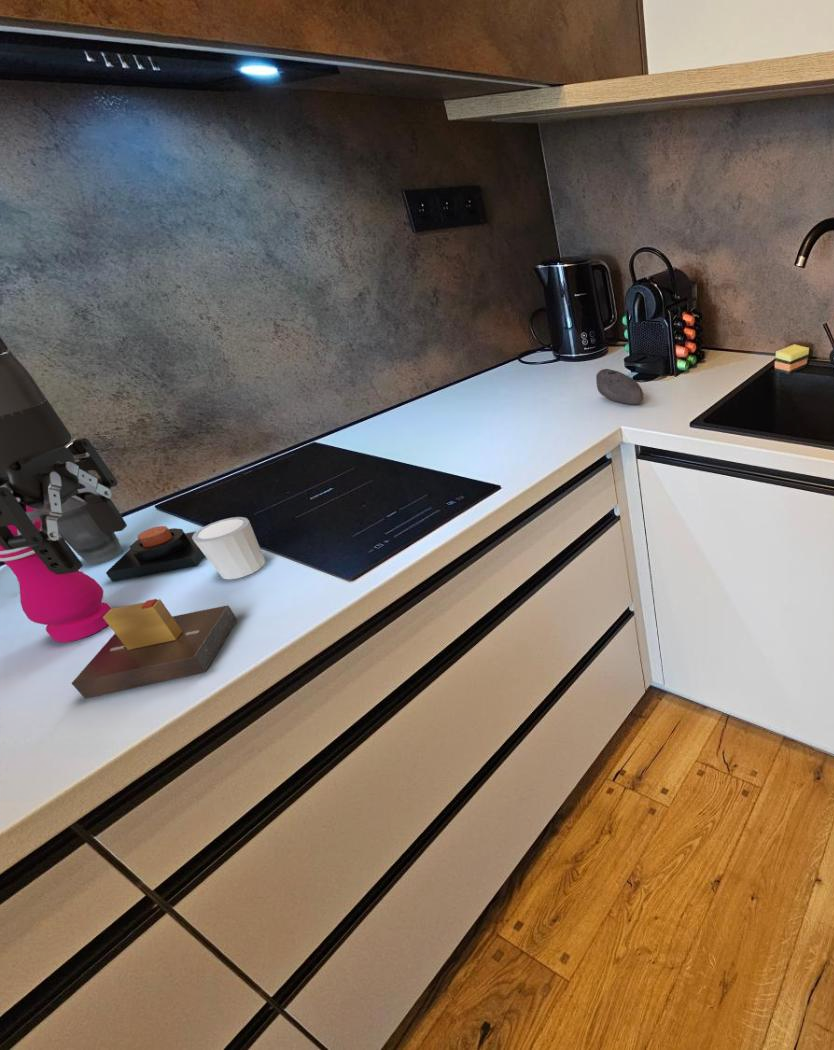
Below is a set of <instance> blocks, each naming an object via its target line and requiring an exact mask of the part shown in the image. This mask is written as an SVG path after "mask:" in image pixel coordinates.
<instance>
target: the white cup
mask: <svg viewBox="0 0 834 1050" xmlns="http://www.w3.org/2000/svg"><path fill="white" fill-rule="evenodd" d="M196 531H197V532H196ZM196 531H194V532H195V533H194V535H193V536H192V539H193V541H194V542H195V543H196V544H197V546H198V547H199V548H200V550H201V551H202V552H203V554H204V555H205V556H204V557H205V558H206V559H207V560H208V561H209V563H210V564H211V565H212V566H213V568H214V569H215V571H216V572H217V573H218V574H219V576H220V577H221V578H222V579H224V580H237V579H240V578H245V577H247V576H249V575H252V574H254V573H256V572H257V571H259V570H260V569H262V567H264V566H265V563H266V559H265V557H264V554H263V552H262V549H261V547H260V544H259V542H258V540H257V536H256V534H255V532H254V529H253V527H252V524H251V522H250V520H249V519H248V518H247V517H243V516H235V517H228V518H224V519H220V520H217V521H214V522H211V523H209V524H207V525H205V526H203V527H200V529H198V530H196Z"/></svg>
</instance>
